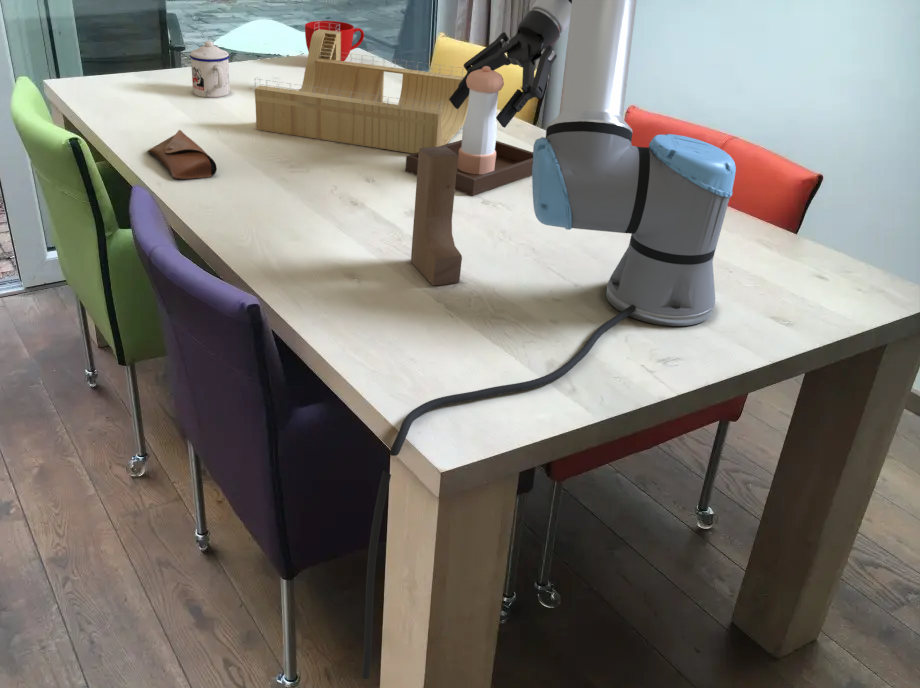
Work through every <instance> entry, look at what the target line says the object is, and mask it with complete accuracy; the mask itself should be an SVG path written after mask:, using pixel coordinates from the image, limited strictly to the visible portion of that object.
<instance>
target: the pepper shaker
mask: <svg viewBox="0 0 920 688" xmlns="http://www.w3.org/2000/svg"><path fill="white" fill-rule="evenodd" d="M504 82H505V81H504V77H503V75H502V74H501V73H499V72H497V70H494V71H493V70H491V68H490V67H488V66H484V67H483V68H482V69H480V70H475V71H473V72H471V73H470V74H469V75H468V77H467V79H466V83H467V87H468V88H469V89H470V92H469V101H468V111H467V115H466V119H465V123H464V125H463V126H462V133H461V140H462V145H461V148H460V149H459V156H458V166H457V168H458V169H459V170H461V171H463V172H466V173H471V174H485V173H488V172H491V171H494V168H495V160H496V151H495V144H496V141H497V136H498V130H497V129H498V127H497V119H496V117H497V111H498V101H499V94H500V93H499V92H501V90H502V89H503V88H504V85H505V83H504Z"/></svg>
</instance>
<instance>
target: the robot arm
mask: <svg viewBox="0 0 920 688" xmlns="http://www.w3.org/2000/svg"><path fill="white" fill-rule="evenodd" d="M637 2H638V0H536V1H535V2H534V3H533V5H532V6H531V9H530V10H529V11H528V12H527V13H526V14H525V15H524V17H523V18H522V20H521V21H519V24H518V26H517V31H516V34H515V35H514V36H512V37H511V36H508V35H507V32H505V31H504V32H503V31H502V32H501V33H500V34H499V35H498V36H497V38H496V39H495V40H494V41H493V42H491V43H489V44H488V45H487V46H485V48H483V49H482V50H480V51H479V52H478V53H476V54H475V55H473V57H471V58H470V59H467V61H466V62H464V63H463V69H465V71H466V73H465V75H464V76H463V77H464V78H463V79H462V81H461V82H460V83H459V85H458V88H457V89H456V91H455V92H454V93H453V95H452V96H451V97H450V99H449V100H450V102H451V103H452V104H453V106H454V107H455V108H456V109H459V107H460V106H461V105H462V103H463V102H464V101H465V99H466V98H467V97H468V95H469V92H470V89H469V88H468V87H467V83H466V79H467V77H468V75H469V74H470V73H471V72H473V71H475V70H480V69H482V68H483V67H484V66H488V67H490V68H491V70H493V71H497V70H498V69H499V68H501V67H504V66H510V65H514V66H518V67H520V68H522V83H521V86H520V89H519V88H517V89H516V91H514V93H513V94H512V95H511V97H510V99H508V101H507V102H506V103H505V105H504V106H503V107H502V109H501V110H500V111H499V113H498V114H496V121H497V122H498V123H499V124H500V126H501V127H502V128H504V129H506V127H507V126H508V125H509V124H510V122H511V121H512V120H513V118H514V117H515V116H516V114H517V113H519V112H521V111H522V110H523V108H524V107H525V106H526V104H527V103H528V102H529V101H530V100H532V99H533V98H534V99H535V98H536V99H537V100H540V99H542V98H543V96H544V93H545V89H546V85H547V82H548V79H549V75H550V72H551V68H552V65H553V63H555V60H556V59H557V57H558V55H557V53H556V51H555V50H554V48H553V47H554V45H555V44H556V42H557V41H558V40H559V39H560V37H561V34H563V33H564V32H565V31H566V29H567V28H568V33H567V34H568V35H567V41H566V42H567V43H566V51H565V60H564V69H563V77H562V87H561V93H560V94H561V96H560V105H559V114H558V115H557V116H556V117H555V118H554V119H553V120H552V121H551V122H549V123H548V124H547V125H546V130H545V137H544V136H541V137H540V138H537V139H535V140H534V144H533V150H532V152H533V165H532V176H531V177H532V178H531V183H532V184H531V185H532V186H531V187H532V204H533V211H534V215H535V217H536V219H537V220H538V222H540V224H542V225H545V226H551V227H558V228H564V229H565V230H569V231H570V230H572V229H575V230H576V229H577V230H588V231H597V232H606V233H607V232H609V233H619V234H631V235H630V239H629V243H628V247H626V249H625V251H624V253H623V255H622V256H621V259H620V260H619V262H618V263H617V265H616V266H615V269H613V272H612V274H611V275H610V277H609V280H608V281H607V287H606V291H605V298H606V299H607V301H608V302H609V304H610V305H611V306H612V307H613V308H615V309H616V310H617V311H619V313H617V314H616V315H614V316H613V317H612V318H610V319H609V320H607V321H605V322H604V323H603V324H602V325H600V326H599V327H598V328H597V329H595V331H594V332H593V333H592V334H591V335H590V337H589V338H588V340H587V341H586V342H585V344H584V346H582V348H581V349H580V350H579V351H578V352H577V353H576V354H575V355H574V356H572V357H571V358H570V359H569V360H568V361H567V362H565V363H564V364H563V365H562V366H560V367H559V368H558V369H556V370H554V371H552V372H550V373H548V374H545V375H543V376H541V377H538V378H535V379H532V380H527V381H521V382H516V383H510V384H504V385H498V386H491V387H487V388H482V389H478V390H473V391H468V392H462V393H456V394H450V395H446V396H441V397H438V398H437V397H436V398H433V399H431V400H428V401H427V402H424V403H422V404H421V405H419V406H417V407H416V408H414V409H412V410H411V411H410V412H409V413H408V414H406V416H405V418H404V419H403V420H402V423H401V425H400V427H399V429H398V432H397V434H396V437H395V439H394V441H393V443H392V446H391V448H390V450H389V455H390V456H392V457H396V456H398V455H399V454H400V452H401V450H402V447H403V446H404V443H405V441H406V438H407V436H408V433H409V431H410V429H411V427H412V424H413V422H414V421H415V420H416V419H418V418H419V417H421V416H422V415H424V414H426V413H427V412H429V411H431V410H434V409H436V408H440V407H442V406H443V407H444V406H446V405H450V404H456V403H462V402H468V401H473V400H478V399H483V398H487V397H488V398H489V397H492V396H498V395H503V394H509V393H516V392H521V391H526V390H531V389H535V388H539V387H542V386H544V385H547V384H549V383H552V382H554V381H556V380H558V379H559V378H562V377H563V376H564V375H566V374H567V373H569V371H571V370H572V369H573V368H574V367H575V366H576V365H578V364H579V363H580V362H581V361H582V360H583V359H584V358H585V357H586V356H587V355H588V354H589V352H590V351H591V350H592V349H593V347H594V345H595V344H596V343H597V341H598V340H599V339H600V338H601V337H602V336H603V335H604V334H605V333H606V332H607V331H609V330H610V329H611V328H613V327H615V326H616V325H618V324H619V323H620V322H621V321H623V320H625V319H626V318H627V317H630V318H633V319H636V320H638V321H642V322H644V323H645V322H646V323H649V324H654V325H658V326H668V327H687V326H692V325H697V324H700V323H701V324H702V323H703V322H705V321H707V320H708V319H709V318H711V316H712V315H713V311H714V308H715V305H716V289H715V275H714V257H715V253H716V249H717V247H718V242H719V238H720V234H721V231H722V228H723V225H724V221H725V217H726V213H727V209H728V206H729V202H730V199H731V198H732V196H733V188H734V184H735V177H736V172H737V167H736V163H735V161H734V159H733V157H732V156H731V155H730V154H729V153H727V152H726V151H725V150H723V149H721V148H720V147H718V146H717V145H716V146H715V145H713V144H711V143H709V142H706V141H703V140H700V139H697V138H693V137H690V136H686V135H680V134H679V135H678V134H671V133H666V134H663V133H662V134H656V135H654V136H653V137H652V138H651V140H650V141H649V142H648V143H649V144H648V146H647V147H646V146H637V145H636V146H635V145H632V141H633V129H632V127H631V126H630V125H629V124H628V123H627V122H626V120H625V119H624V110H625V102H626V94H627V86H628V77H629V68H630V60H631V51H632V43H633V36H634V27H635V17H636V10H637V9H636V8H637ZM538 60H539V61H538ZM537 61H538V64H537ZM536 64H537V65H536ZM536 66H537V67H536ZM535 71H536V72H535ZM391 477H392V474H391V473H389V472H388V471H386V470H384V469H383V470H382V474H381V478H380V482H379V486H378V491H377V496H376V501H375V504H374V505H375V506H374V510H373V517H372V522H371V529H370V537H369V538H370V539H369V545H368V554H367V566H366V580H365V581H366V582H365V604H364V605H365V608H364V640H363V641H364V642H363V657H362V658H363V660H362V674H361V678H363V679H364V680H368V679H370V675H371V665H372V664H371V662H372V646H373V624H374V623H373V622H374V595H375V579H376V578H375V577H376V567H377V566H376V564H377V556H378V547H379V538H380V533H381V532H380V531H381V526H382V521H383V514H384V508H385V503H386V499H387V493H388V489H389V485H390V481H391Z"/></svg>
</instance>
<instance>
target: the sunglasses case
mask: <svg viewBox="0 0 920 688" xmlns="http://www.w3.org/2000/svg"><path fill="white" fill-rule="evenodd" d="M147 153H148V154H150V155H152V156H153V157H154V158H155V159H156V160H157V161H158V162H159V163H160V164H161V165H162V166H163V167H164V168H165V169H166V170H167V172H168V173H169V174H170V176H171V177H172V178H174V179H176V180H177V179H178V180H197V179H198V180H199V179H207V178H211V177H213V176H215V175H216V173H217V170H218V167H217V163H216V162H215V160H214V159H213V158H212V157H211V156H210V155H209V154H208V153H207V152H206V151H205V150H204V149H203V148H201V146H199V145H198V144H197V143H196V142H195V141H194V140H192V138H190V137H189V136H188V135H186V133H184V132H183V131H182V129H178V130H177V132H176V134H175V133H174V134H173V135H172V136H170V137H168V138H167V139H165V140H163V141H161V142H160V143H158V144H156V145H154V146H153V147H151V148H150V149H148V150H147Z"/></svg>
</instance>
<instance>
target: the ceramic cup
mask: <svg viewBox="0 0 920 688" xmlns="http://www.w3.org/2000/svg"><path fill="white" fill-rule="evenodd" d="M317 22H318V23H317ZM324 22H326V23H324ZM333 23H335V24H333ZM314 24H315V27H314ZM339 24H340V32H341V52H342V53H341V61H346V60H347V58H349V55H350V54H351V51H352V50H353V51H354V50H355V49H356V48H358V47H359V46H360V45H362V42H363V41H364V38H365V33H364V30H363V29H361V28H359V27H355V26H354V25H353V24H351V23H348V22H343V21H336V20H315V21H309V22H307V23H305V24H304V36H305V44H306V49H307V51H308V53H309V48H310V43H311V38H312V35H313V33H314V32H315V31H317V30H318V29H321V30H330V31H336V30H337V31H338V32H339V30H338V28H339ZM337 25H338V26H337ZM318 26H319V27H318ZM321 26H323V27H321ZM316 27H317V28H316ZM330 27H332V28H330ZM356 32H359V33H360V37H359V39H358V41H356V43H355V44H353V41H354V34H355V33H356ZM348 53H350V54H348ZM345 57H347V58H345Z"/></svg>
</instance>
